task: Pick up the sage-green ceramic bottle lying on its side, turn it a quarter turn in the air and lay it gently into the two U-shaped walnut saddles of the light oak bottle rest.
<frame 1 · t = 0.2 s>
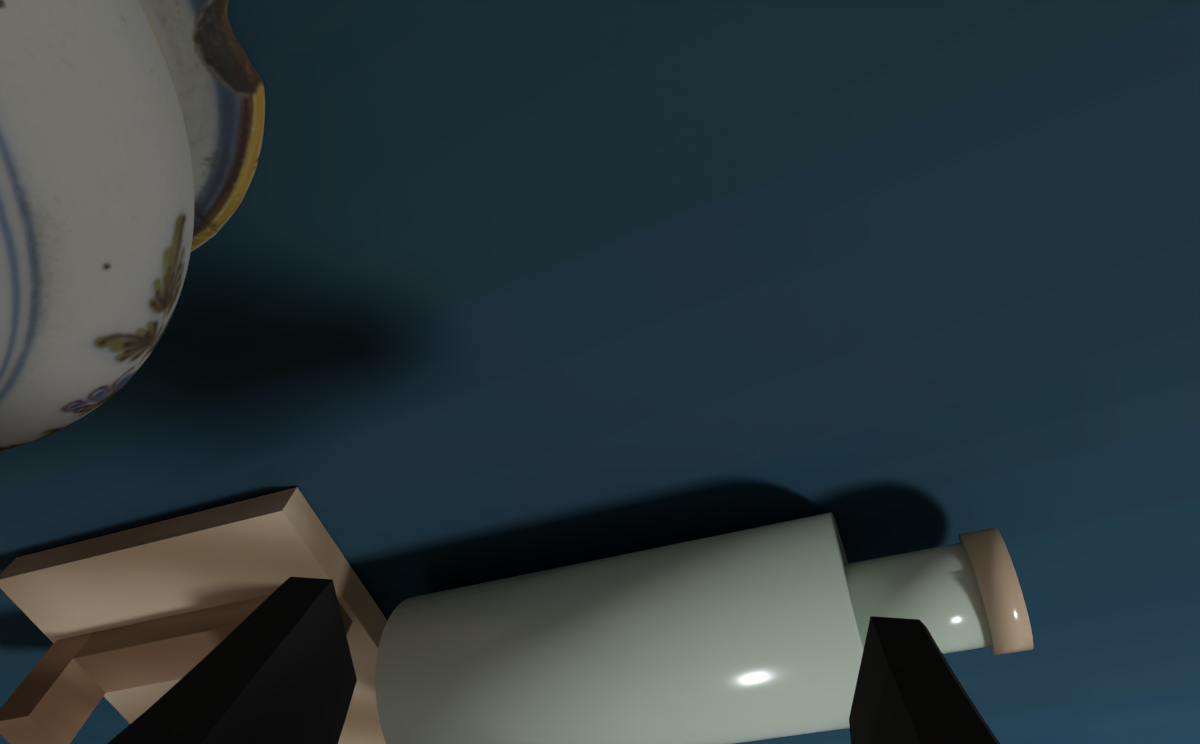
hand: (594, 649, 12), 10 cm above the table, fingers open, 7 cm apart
bottle: (632, 583, 25), on the table
apothecary jar: (46, 47, 18), on the table
bottle rest: (288, 698, 29), on the table
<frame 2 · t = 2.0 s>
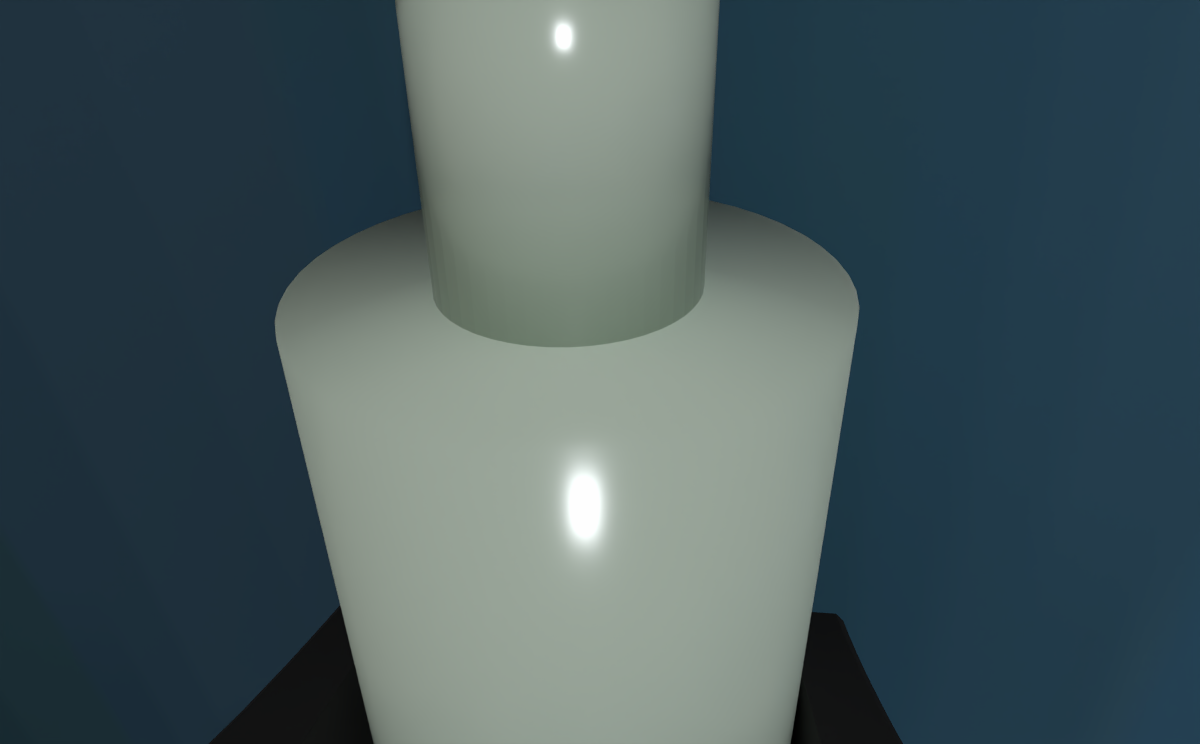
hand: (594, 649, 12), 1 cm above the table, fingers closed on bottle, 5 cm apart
bottle: (605, 573, 13), on the table, touching gripper
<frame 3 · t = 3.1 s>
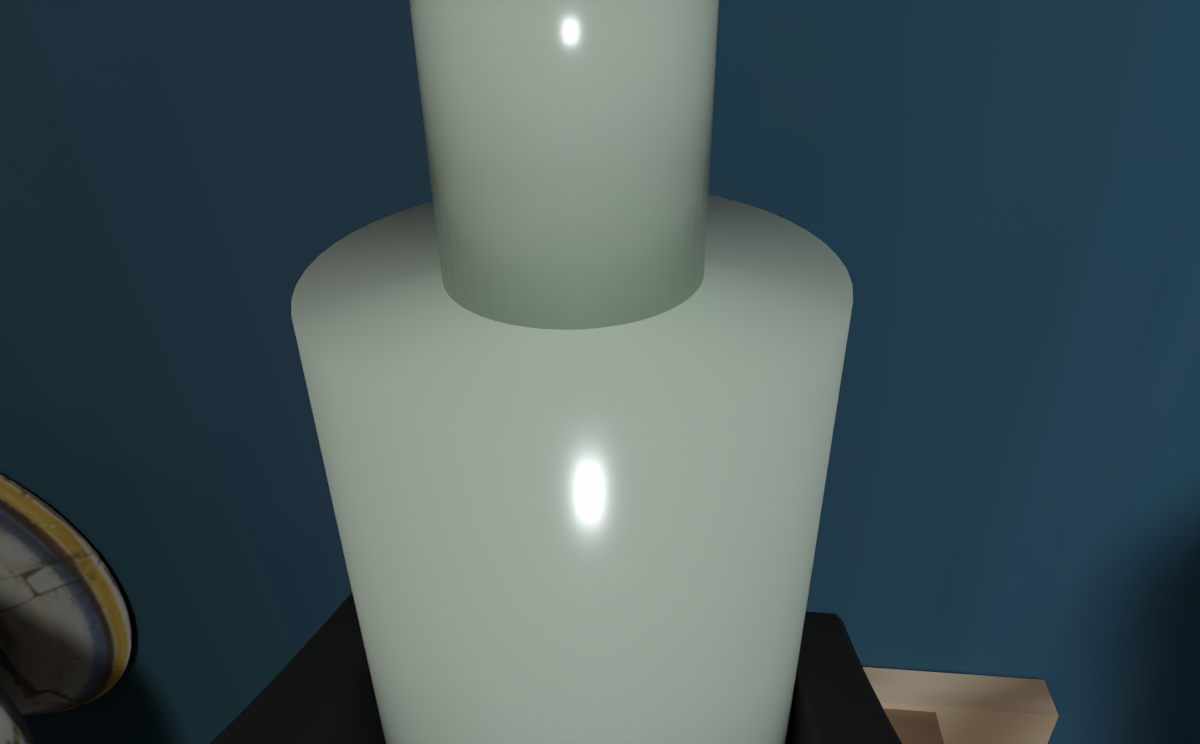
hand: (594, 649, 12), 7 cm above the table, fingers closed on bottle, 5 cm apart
bottle: (594, 563, 13), point 5 cm above the table, touching gripper
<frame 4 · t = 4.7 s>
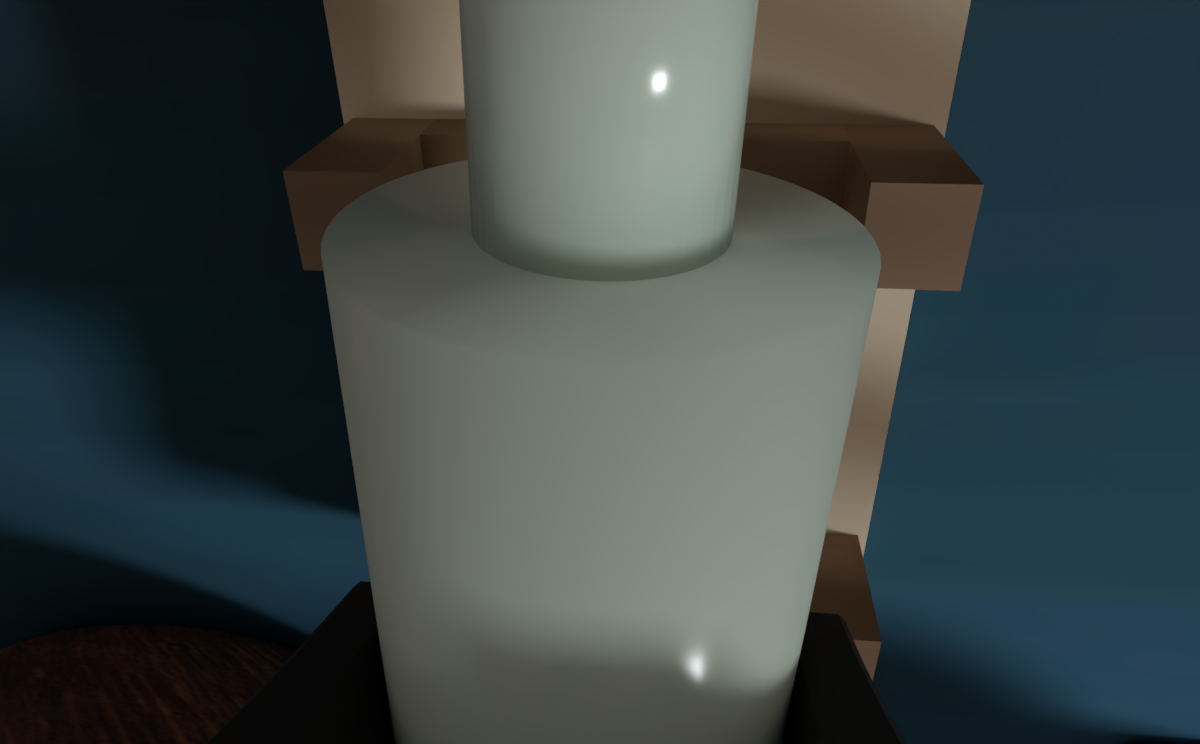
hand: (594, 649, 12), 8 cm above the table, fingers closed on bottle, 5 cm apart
bottle: (600, 538, 13), point 6 cm above the table, touching gripper
bottle rest: (636, 358, 18), on the table
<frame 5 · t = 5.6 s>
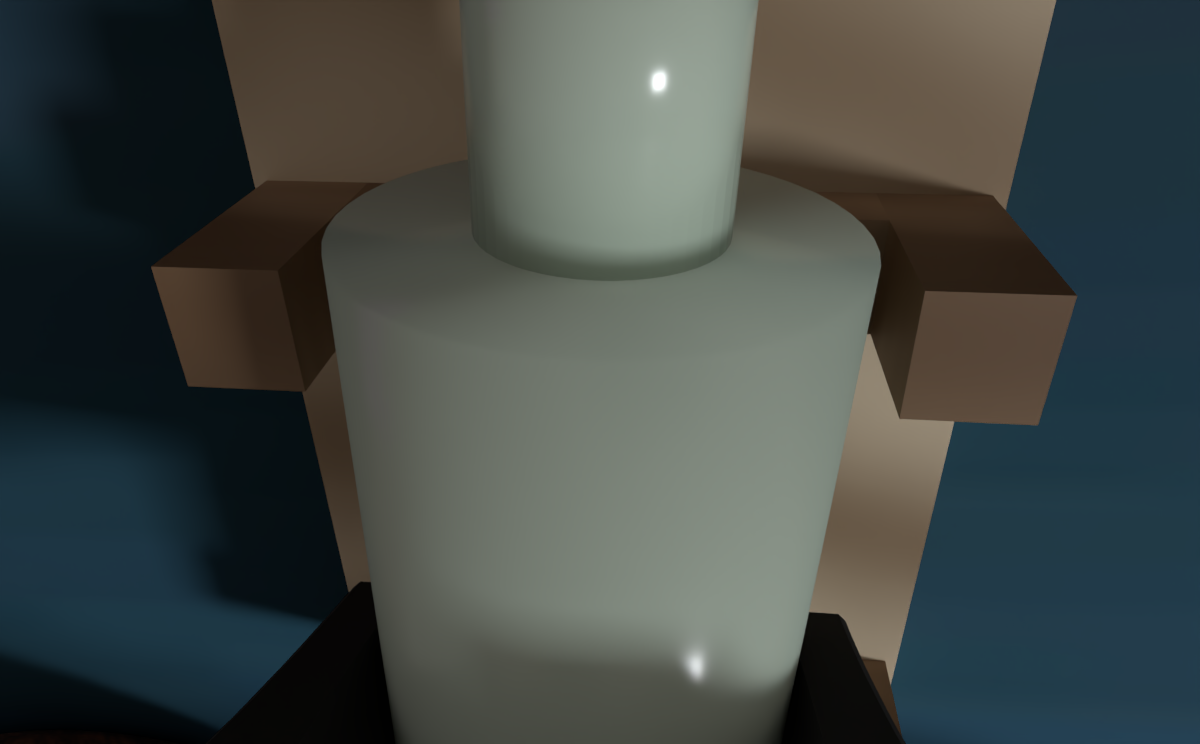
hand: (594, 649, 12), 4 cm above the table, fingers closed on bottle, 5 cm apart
bottle: (600, 538, 13), point 2 cm above the table, touching gripper
bottle rest: (621, 454, 15), on the table
when the fingers open (4 cm above the table, at t = 6.6 s): bottle stays where it is, resting on bottle rest.
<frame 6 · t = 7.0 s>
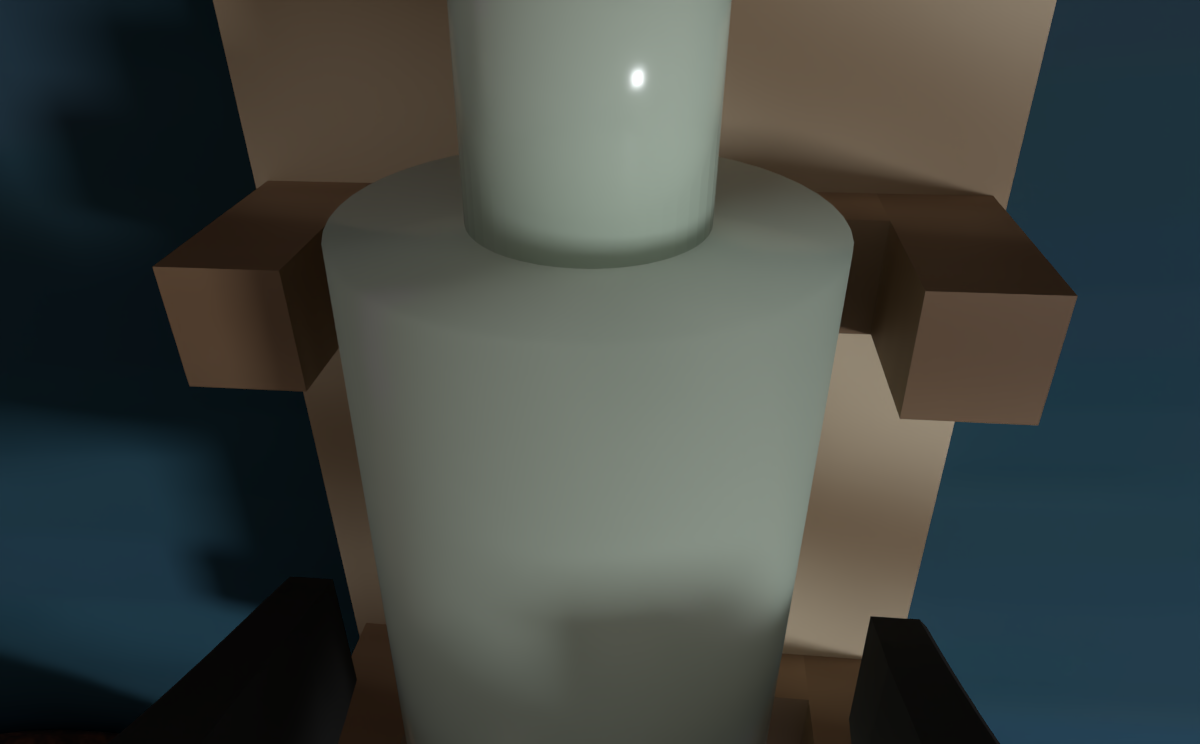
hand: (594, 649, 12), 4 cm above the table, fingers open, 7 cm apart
bottle: (604, 519, 14), point 2 cm above the table, touching bottle rest
bottle rest: (622, 454, 15), on the table
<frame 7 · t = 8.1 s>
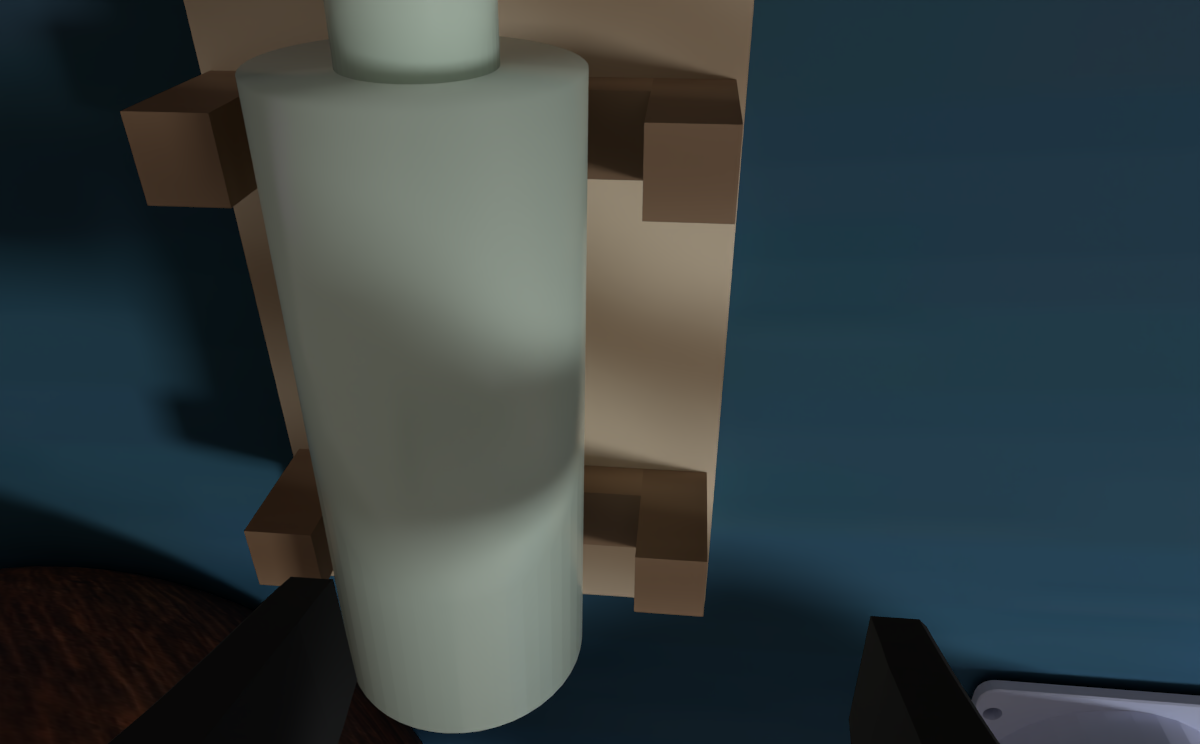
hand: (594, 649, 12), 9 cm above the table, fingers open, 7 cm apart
bottle: (471, 338, 18), point 2 cm above the table, touching bottle rest
bottle rest: (496, 304, 20), on the table
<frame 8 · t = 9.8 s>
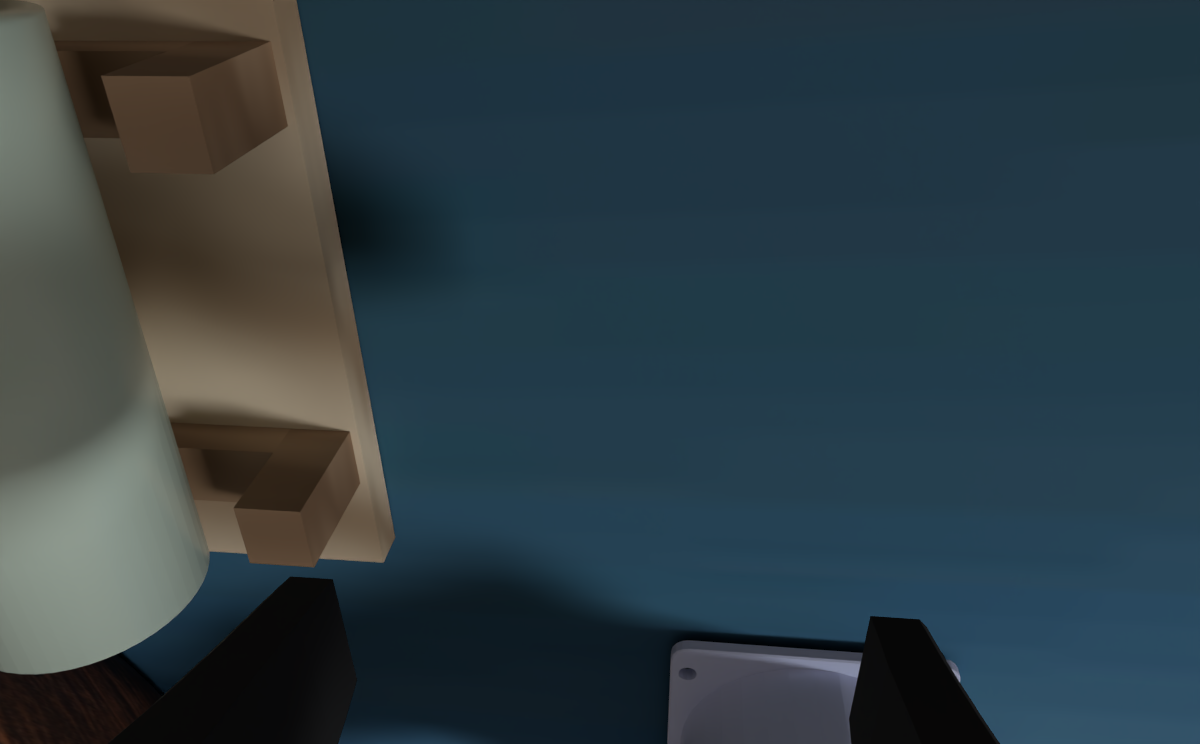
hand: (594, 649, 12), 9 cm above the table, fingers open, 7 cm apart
bottle: (75, 298, 18), point 2 cm above the table, touching bottle rest
bottle rest: (135, 268, 20), on the table
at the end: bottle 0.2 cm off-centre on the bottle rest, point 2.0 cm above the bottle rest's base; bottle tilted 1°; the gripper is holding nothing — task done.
